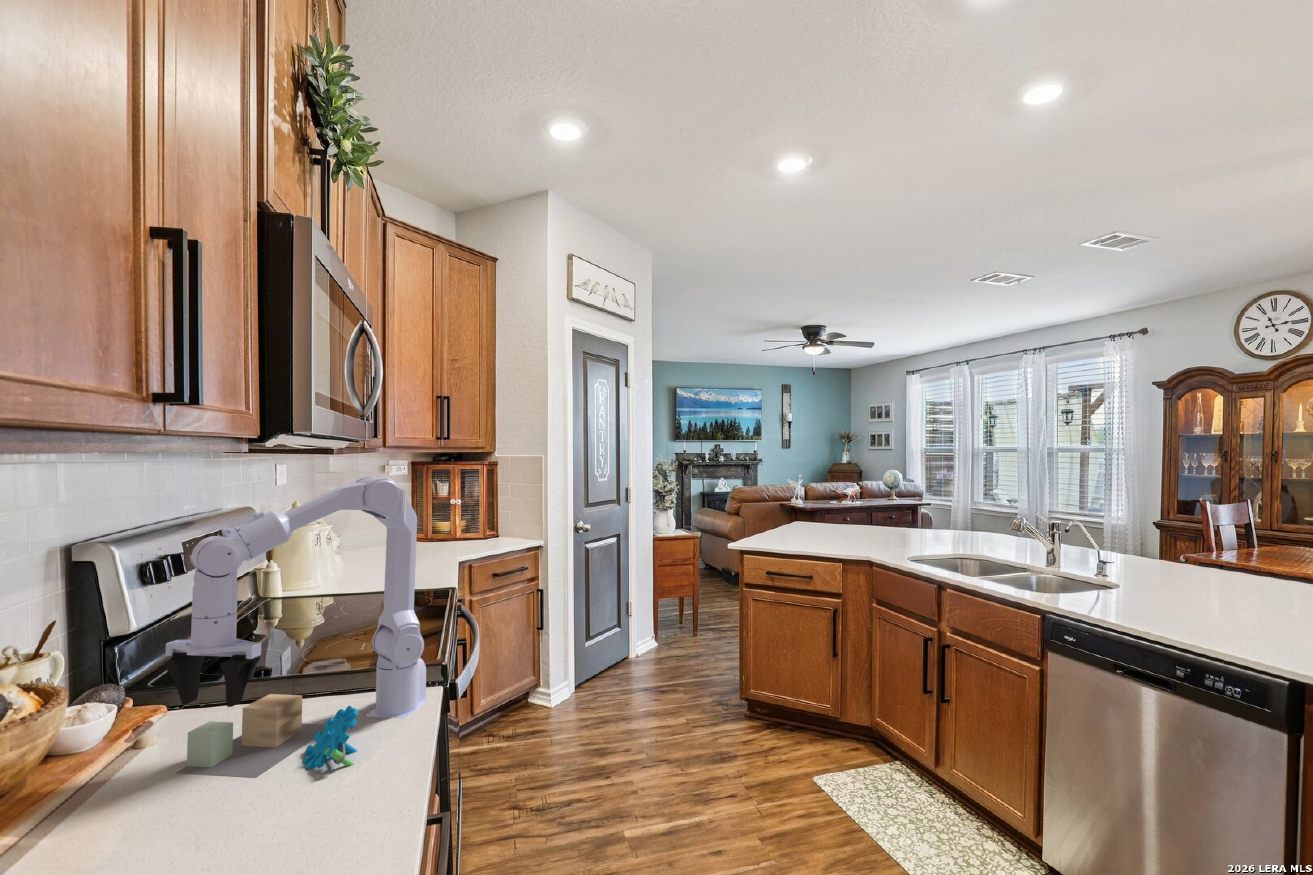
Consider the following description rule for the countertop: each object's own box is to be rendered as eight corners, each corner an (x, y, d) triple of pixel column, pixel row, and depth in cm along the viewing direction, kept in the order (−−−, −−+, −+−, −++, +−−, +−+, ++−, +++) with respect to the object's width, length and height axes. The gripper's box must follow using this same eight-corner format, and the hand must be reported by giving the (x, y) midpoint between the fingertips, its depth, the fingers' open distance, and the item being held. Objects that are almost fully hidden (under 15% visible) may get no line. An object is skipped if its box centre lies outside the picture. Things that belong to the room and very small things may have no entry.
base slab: (268, 729, 104) (269, 711, 104) (301, 731, 103) (301, 713, 103) (241, 745, 98) (242, 726, 98) (275, 747, 97) (276, 728, 97)
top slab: (269, 711, 104) (270, 693, 104) (301, 713, 103) (302, 695, 103) (242, 726, 98) (242, 707, 98) (276, 728, 97) (276, 709, 97)
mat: (265, 724, 107) (265, 721, 107) (334, 728, 106) (334, 724, 106) (174, 776, 89) (174, 772, 89) (255, 781, 88) (256, 777, 88)
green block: (208, 753, 95) (210, 721, 95) (232, 754, 95) (233, 722, 95) (186, 765, 91) (187, 732, 91) (210, 767, 91) (212, 733, 91)
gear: (298, 743, 96) (349, 692, 99) (327, 762, 99) (376, 711, 102) (298, 784, 87) (354, 726, 90) (330, 803, 89) (384, 746, 92)
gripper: (148, 619, 91) (144, 711, 90) (237, 622, 89) (234, 715, 89) (189, 608, 98) (186, 693, 97) (272, 610, 96) (269, 697, 96)
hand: (211, 703), depth 93 cm, fingers open, 7 cm apart
